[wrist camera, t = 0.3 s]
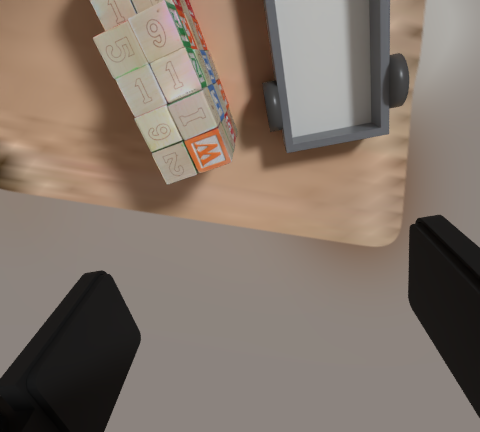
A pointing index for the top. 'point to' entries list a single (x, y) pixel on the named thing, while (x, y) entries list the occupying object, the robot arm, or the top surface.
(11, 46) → the top surface
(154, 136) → the stack of blocks
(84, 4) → the top surface
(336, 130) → the chassis
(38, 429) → the robot arm
